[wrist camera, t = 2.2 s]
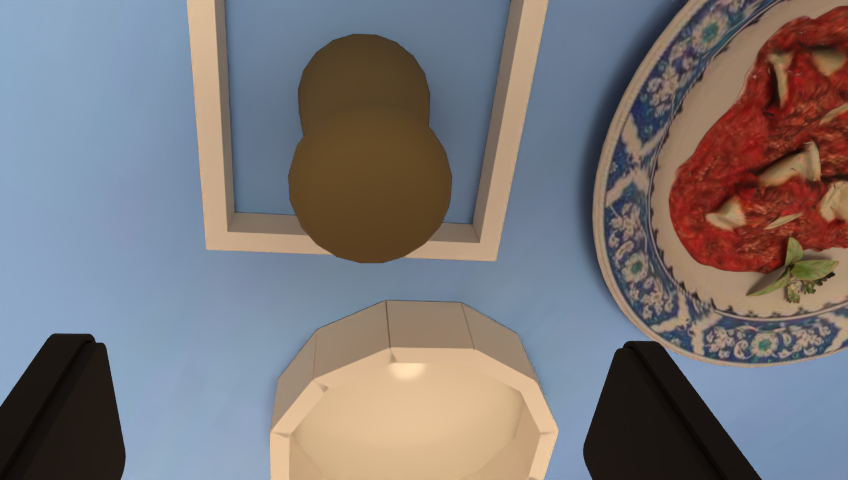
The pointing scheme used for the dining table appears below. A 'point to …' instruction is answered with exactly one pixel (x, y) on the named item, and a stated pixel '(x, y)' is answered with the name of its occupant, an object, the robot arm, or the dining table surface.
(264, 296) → the dining table surface
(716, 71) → the ceramic plate
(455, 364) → the bowl
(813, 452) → the dining table surface
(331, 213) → the brown rounded piece
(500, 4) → the dining table surface
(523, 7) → the beige square frame
